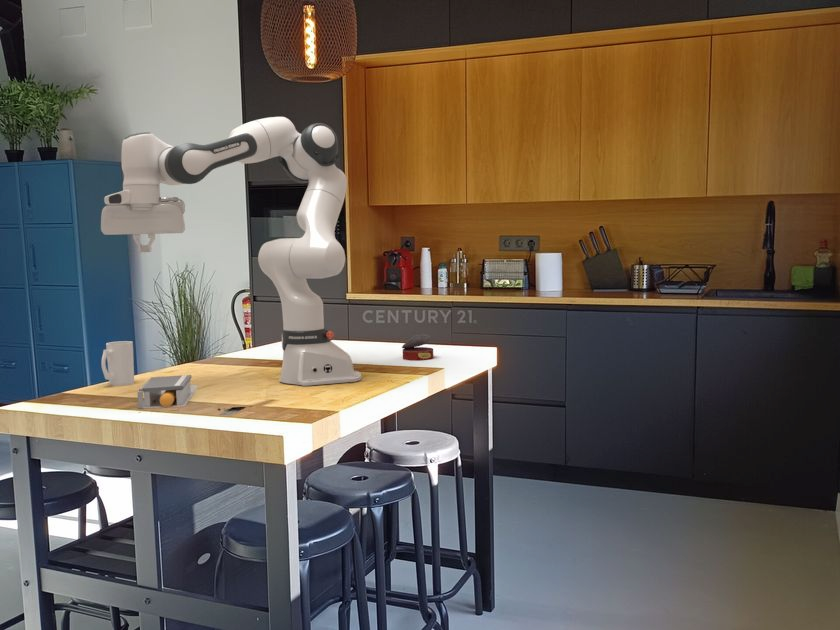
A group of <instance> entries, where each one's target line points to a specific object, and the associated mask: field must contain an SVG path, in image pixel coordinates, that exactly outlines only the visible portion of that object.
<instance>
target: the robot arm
mask: <svg viewBox="0 0 840 630" xmlns="http://www.w3.org/2000/svg"><path fill="white" fill-rule="evenodd" d="M338 140H339V139H338V136H337V133H336V132H335V130H333V128H332V127H330V125H328V124H325V123H322V122H316V123H311V124H310V125H308V126H307V127H306V128H304V129H303V130H302V132H301V133H300V132H299V131H298V130H297V129H296V126H295V124H294V123H293V122H292V121H291V120H290V119H289V118H287V117H285V116H274V117H273V116H269V117H264V118H260V119H259V118H258V119H255V120H251V121H249V122H246V123H243V124H240V125H239V126H237V127H235V128H233V129H232V130H231V131H230V133H229V136H228V137H227V138H224V139H221V140H217V141H214V142H211V143H208V144H207V143H206V144H197V143H192V142H182V143H180V144H177V145H175V146H173V145H171V144H168V143H166V142H164V141H163V140H162V139H160V138H158V137H157V136H156V135H155V134H154V133H153V132H138V133H137V132H136V133H135V134H134V133H133V134H129V135H127V136H126V137H125V138H124V139H123V140H122V143H121V158H120V159H121V170H122V173H123V181H122V190H121V191H119V192H115V193H111V194H108V195H106V196H104V198H103V201H104V204H105V206H104V207H102V209H101V216H100V231H101V232H102V234H103V235H104V236H107V235H109V236H110V235H111V236H112V235H116V236H117V235H132V240H134V242H135V244H136V245H137V246H138V247H137V248H138V249H137V250H138V253H152V245H153V243H154V242H155V240H156V235H160V234H162V235H163V234H183V233H184V232H185V231H186V224H185V218H184V214H185V212H186V205H185V204H186V203H185V202H184V200H182V199H181V198H179V197H177V196H173V197H168V196H165V197H164V196H163V197H162V196H161V189H160V188H161V187H160V186H161V185H160V184H164V185H168V186H179V185H180V186H181V185H194V184H197V183H199V182H202V180H203V179H204V178H205V177H207V176H208V175H209V174H210V173H211V172H212V171H213V170H215V169H217V168H221V167H224V166H227V165H229V164H233V163H236V162H239V163H240V164H244V165H246V164H254V163H260V162H264V161H266V160H269V159H273V158H276V157H278V162H279V164H280V166H282V168H283V170H284V172H285V173H286V175H287V177H289V178H290V179H291V180H292V181H294V182H296V183H299V184H306V183H308V184H307V188H306V189H305V192H304V195H303V197H302V199H301V202H300V205H299V207H298V210H297V212H296V221H297V224H298V226H299V228H300V229H301V230H303V232H304V234H303V236H301V237H294V238H291V237H289V238H286V237H285V238H276V239H272V240H269V241H266V242H265V243H263V244H262V245H261V246H260V249H259V251H258V256H257V258H258V259H257V261H258V265H259V268H260V270H261V271H262V273H263V274H264V275H266V277H268V278H269V279H270V280H271V281H272V283H273V285H274V286H275V289H276V290H277V294H278V295H279V298H280V302H281V303H280V304H281V311H282V324H283V326H282V327H283V329H282V330H281V348H282V351H283V355H282V366H281V372H280V375H279V380H278V382H280V383H284V384H290V385H299V386H302V387H306V386H307V387H308V386H319V385H329V384H342V383H343V384H344V383H353V382H359V381H360V380H362V378H363V377H362V373H361V372H360V371H357V370H354V364H353V361H352V360H353V359H352V357H351V356H350V354H349V353H348V352H346V351H345V350H344V349H342V348H341V347H340V346H338V345H337V344H336V343H334V342H332V339H333V338H334V336H335V334H334V332H333V331H331V330H330V329H328V328H325V321H324V320H325V319H324V302H323V300H322V298H321V296H319V294H316V293H315V292H314V291H313V290H312V289H311V288H310V286H309V283H308V281H307V279H315V280H316V279H318V280H319V279H326V278H327V279H328V278H330V277H334V276H337V275H339V274H340V273H341V272H342V271H343V269H344V266H345V263H346V254H345V253H346V252H345V249H344V248H343V246H342V245H341V243H340V242H339V241H338V240H337V239H336V235H335V229H336V226H337V223H338V219H339V217H340V213H341V211H342V208H343V205H344V202H345V198H346V193H347V187H348V179H347V176H346V174H345V173H344V172H343V170H341V169H340V168H338V167H337V166H336V163H337V162H339V160H340V154H339V141H338ZM141 235H147V238H148V239H149V241H148V242H147V245H146V244H142V243H141V241H140V239H141Z"/></svg>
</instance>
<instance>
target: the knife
mask: <svg viewBox="0 0 840 630" xmlns="http://www.w3.org/2000/svg"><path fill="white" fill-rule="evenodd" d="M248 407H249V408H250V407H253V405H252V406H251V405H250V406H234V407H230V408H229V409H227V410H225V411H223V412H221V413H220V414H219V416H230V415H233V414H236V413H238V412H241V411H242V410H244V409H245V408H248Z"/></svg>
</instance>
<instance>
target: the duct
mask: <svg viewBox="0 0 840 630" xmlns="http://www.w3.org/2000/svg"><path fill="white" fill-rule="evenodd" d="M198 387H199V384H192V385H191V380H190V381H189V382H188V384H187V385H186V386H185V388H184V389H179V390H176V399H175V400H174V402H173V403H172V405H170V406H169V407H168V408H174V407H175V408H177V407H179V408H180V407H186V405H188V402H189V401H190V400H191V398H192V396H193V395H194V393H196V390H197V388H198ZM165 391H166V390H164V391H149V392H143V391H139V390H138V391H137V393H136V394H137V409H140V410H141V409H155V408H156V409H158V408H159V409H160V408H165V407H164V406H162V405H161V404H160V397H161V396H162V395H163V394H164V392H165ZM170 411H171V412H174V411H178V409H176V410H175V409H173V410H170ZM154 412H156V413H157V412H159V410H158V411H153V410H152V411H151V413H154ZM139 413H140V411H139V412H138V414H139Z"/></svg>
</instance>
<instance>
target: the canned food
mask: <svg viewBox="0 0 840 630" xmlns="http://www.w3.org/2000/svg"><path fill="white" fill-rule="evenodd" d="M431 340H432V337H431V336H430V335H428V334H426V333H419V334H416V335H415V334H414V335H413V336H412V337H409V339H408V340H407V341H406V342H405V343H404V344H403V345H402V346H401V349H402V360H404V361H410V362H411V361H413V362H415V361H416V362H417V361H418V362H419V361H420V362H421V361H429V360H433V359H434V348H432V347H424V346H423V345H426V344H428V343H430V342H431Z"/></svg>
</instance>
